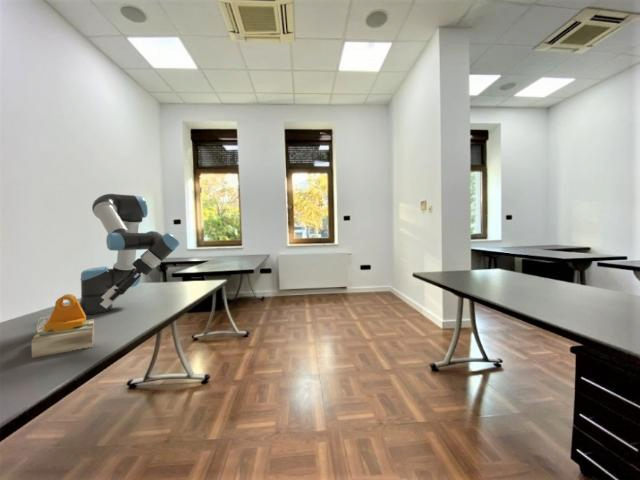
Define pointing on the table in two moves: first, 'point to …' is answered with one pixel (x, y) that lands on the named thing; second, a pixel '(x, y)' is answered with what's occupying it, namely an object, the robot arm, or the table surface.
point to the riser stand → (62, 340)
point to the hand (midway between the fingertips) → (103, 302)
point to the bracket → (66, 315)
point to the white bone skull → (42, 321)
